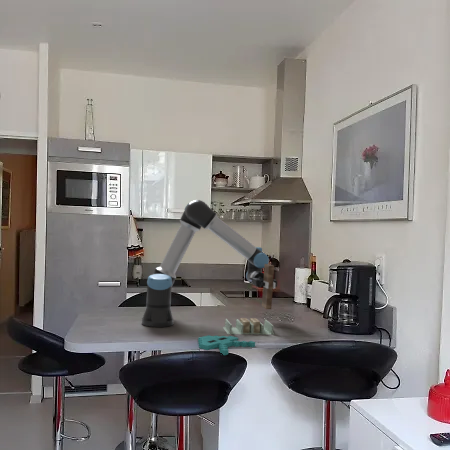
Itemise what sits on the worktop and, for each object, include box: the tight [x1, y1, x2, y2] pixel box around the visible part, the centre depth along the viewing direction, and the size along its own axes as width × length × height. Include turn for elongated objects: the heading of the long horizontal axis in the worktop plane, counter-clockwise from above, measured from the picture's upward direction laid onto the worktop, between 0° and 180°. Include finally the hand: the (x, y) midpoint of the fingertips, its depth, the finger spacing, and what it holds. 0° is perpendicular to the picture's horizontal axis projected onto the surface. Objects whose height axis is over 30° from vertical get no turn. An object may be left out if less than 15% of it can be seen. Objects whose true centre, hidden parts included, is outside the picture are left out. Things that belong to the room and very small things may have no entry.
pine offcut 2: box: [249, 317, 261, 333], centre depth 215 cm, size 3×8×5 cm, turn 9°
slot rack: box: [222, 318, 276, 336], centre depth 215 cm, size 22×13×5 cm, turn 99°
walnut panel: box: [261, 263, 275, 310], centre depth 216 cm, size 2×8×20 cm, turn 9°
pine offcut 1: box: [239, 317, 250, 333], centre depth 215 cm, size 3×8×5 cm, turn 9°
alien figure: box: [197, 335, 256, 356], centre depth 191 cm, size 20×2×20 cm
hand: (271, 285), depth 211 cm, fingers closed on walnut panel, 2 cm apart
